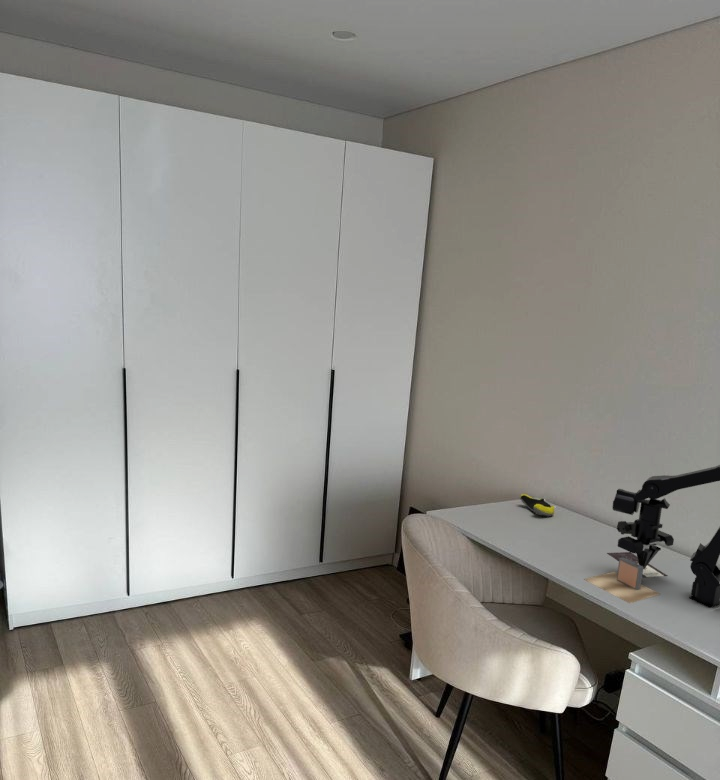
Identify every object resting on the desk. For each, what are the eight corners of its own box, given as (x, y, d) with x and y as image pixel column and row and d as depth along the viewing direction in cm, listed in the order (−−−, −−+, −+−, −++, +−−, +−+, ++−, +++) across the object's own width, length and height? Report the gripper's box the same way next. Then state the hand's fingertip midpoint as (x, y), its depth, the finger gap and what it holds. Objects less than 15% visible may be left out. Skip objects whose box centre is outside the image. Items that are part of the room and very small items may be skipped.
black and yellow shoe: (534, 519, 246) (558, 519, 248) (536, 505, 245) (560, 505, 247) (517, 506, 260) (539, 505, 262) (518, 492, 259) (541, 492, 261)
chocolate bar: (630, 552, 218) (667, 575, 201) (629, 554, 218) (667, 578, 201) (606, 552, 216) (643, 576, 199) (606, 555, 216) (642, 579, 199)
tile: (640, 589, 190) (643, 566, 189) (636, 590, 189) (639, 567, 188) (619, 579, 196) (623, 557, 195) (616, 580, 195) (619, 558, 194)
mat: (660, 595, 188) (660, 594, 188) (629, 604, 181) (629, 603, 181) (614, 572, 202) (614, 571, 201) (583, 580, 194) (583, 579, 194)
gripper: (645, 506, 204) (638, 553, 206) (605, 513, 195) (599, 562, 197) (678, 518, 195) (670, 567, 197) (638, 526, 185) (630, 577, 188)
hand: (642, 568), depth 195 cm, fingers closed
